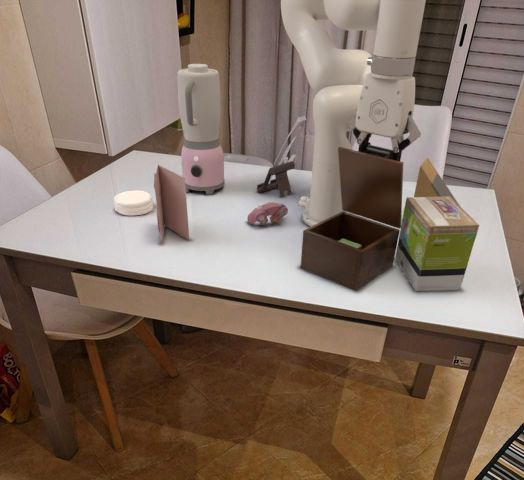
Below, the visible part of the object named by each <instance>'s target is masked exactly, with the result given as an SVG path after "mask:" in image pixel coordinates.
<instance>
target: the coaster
mask: <svg viewBox="0 0 524 480" xmlns="http://www.w3.org/2000/svg"><path fill="white" fill-rule="evenodd" d="M113 203H114V210H115V211H116V212H117V213H118V214H120V215H123V216H128V217H129V216H141V215H146V214H148V213H150V212H151V211H152V210H153V209H154V201H153V196H152V194H151V193H150V192H147V191H145V190H127V191H121V192H120V193H117V194H116V195H115V196H114V197H113Z"/></svg>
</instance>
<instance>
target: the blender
mask: <svg viewBox="0 0 524 480" xmlns="http://www.w3.org/2000/svg"><path fill="white" fill-rule="evenodd" d="M176 78H177V100H178V112H179V117H180V118H179V119H180V123H181V128H182V131H183V136H184V137H183V138H184V142H183V145H182V148H181V152H180V154H181V155H180V158H181V171H182V177H184V178H185V187H186V193H189V192H190V191H191V190H192V191H197V192H205V195H207V196H209V195H214V191H216V190H218V189H219V190H220V189H221V188H223V187H224V186H225V185H226V184H225V159H224V158H225V157H224V150H223V148H222V146H221V143H220V140H219V139H220V138H219V135H220V134H219V133H220V125H221V116H222V102H221V100H222V99H221V84H220V83H221V82H220V73H219V71H218V70H217V69H215V68H214V69H213V68H209V66H208V64H205V63H190V64H187V68H182V69H178V71H177V73H176Z"/></svg>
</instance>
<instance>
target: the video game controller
mask: <svg viewBox="0 0 524 480" xmlns="http://www.w3.org/2000/svg"><path fill="white" fill-rule="evenodd" d="M288 213H289V209H288V207H287V206H286V205H285V204H284V203H283V202H282V201H279V202H276V201H275V202H274V201H271V202H270V201H269V202H266V203H263V205H258V206H257V207H255V208H254V209H253V210H252V211H251V212H250V213H249V214H248V215H247V220H246V221H247V223H248V224H251V225H252V224H253V225H254V224H255V223H259V224H260V226H265V225H267V224H268V222H269V220H270V223H272V224H275V223H276V224H277V222H278V221H280V220H281V219H283V218H284V217H285V216H286V215H288ZM268 217H269V219H268Z"/></svg>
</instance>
